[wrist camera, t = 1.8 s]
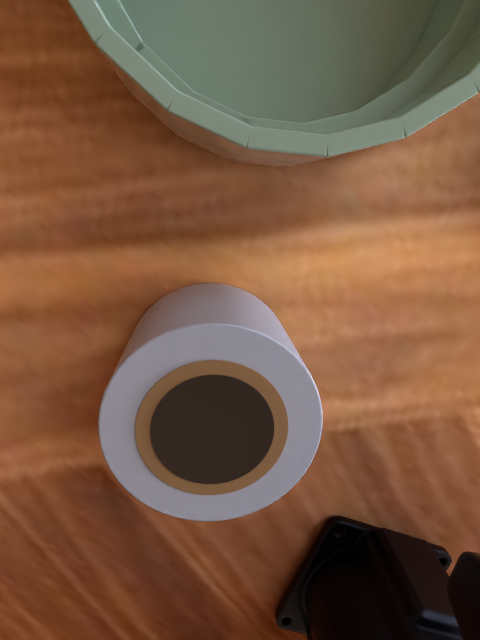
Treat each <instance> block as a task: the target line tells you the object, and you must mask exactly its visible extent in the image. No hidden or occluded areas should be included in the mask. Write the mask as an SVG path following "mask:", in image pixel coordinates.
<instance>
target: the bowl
mask: <svg viewBox="0 0 480 640" xmlns="http://www.w3.org/2000/svg"><path fill="white" fill-rule="evenodd" d="M67 1H68V2H69V4H70V6H71V7H72V9H73V11H74V12H75V14H76V16H77V17H78V19H79V20H80V22H81V24H82V25H83V27H84V29H85V30H86V32H87V34H88V35H89V37H90V38H91V40H92V42H93V43H94V44H95V46H96V47H97V48H98V50H99V51H100V53H101V54H102V55H103V57H104V58H105V59H106V61H107V62H108V63H109V65H110V66H111V67H112V69H113V70H114V71H115V73H116V74H117V75H118V77H119V78H120V79H121V81H122V82H123V84H124V85H125V86H126V88H127V89H128V90H129V92H130V93H131V94H132V95H133V96H134V97H135V98H137V99H138V100H139V101H140V102H141V103H142V104H143V105H144V106H145V107H146V108H147V109H149V110H150V111H151V112H152V113H153V114H154V115H155V116H156V117H157V118H158V119H159V120H161V121H162V122H163V123H164V124H165V125H166V126H167V127H168V128H169V129H170V130H171V131H173V132H174V133H175V134H176V135H178V136H179V137H181V138H183V139H185V140H187V141H189V142H191V143H194V144H196V145H198V146H200V147H202V148H204V149H207V150H209V151H211V152H213V153H215V154H217V155H220V156H222V157H224V158H226V159H228V160H230V161H232V160H233V161H234V162H242V163H252V164H261V165H271V166H281V167H290V166H291V167H293V166H297V165H301V164H305V163H310V162H314V161H318V160H322V159H326V158H331V157H335V156H339V155H343V154H347V153H351V152H355V151H359V150H363V149H366V148H370V147H374V146H378V145H382V144H386V143H390V142H394V141H398V140H401V139H403V138H406V137H408V136H410V135H412V134H413V133H415V132H416V131H418V130H420V129H421V128H423V127H425V126H426V125H428V124H429V123H431V122H433V121H434V120H436V119H438V118H439V117H441V116H442V115H444V114H446V113H447V112H449V111H451V110H452V109H454V108H456V107H457V106H459V105H460V104H462V103H464V102H465V101H467V100H469V99H470V98H472V97H473V96H475V95H476V94H477V93H478V92H480V0H67Z"/></svg>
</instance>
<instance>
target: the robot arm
mask: <svg viewBox="0 0 480 640" xmlns="http://www.w3.org/2000/svg"><path fill="white" fill-rule="evenodd" d="M337 527H340V528H339V529H335V528H337ZM451 562H452V558H451V556H450V555H449V553H448V552H447V550H446V549H445V548H443V547H441V546H438V545H434V544H431V543H428V542H426V541H425V540H421V539H418V538H415V537H412V536H408V535H405V534H402V533H399V532H395V531H392V530H389V529H385V528H379V527H375V526H372V525H369V524H366V523H362V522H359V521H356V520H352V519H349V518H346V517H343V516H333V517H331V518H329V519H328V521H327V522H326V524H325V525H324V527H323V529H322V531H321V532H320V534H319V536H318V538H317V539H316V541H315V543H314V545H313V546H312V548H311V550H310V552H309V553H308V555H307V557H306V559H305V560H304V562H303V564H302V566H301V567H300V569H299V571H298V573H297V574H296V576H295V578H294V580H293V581H292V583H291V585H290V587H289V589H288V590H287V592H286V594H285V596H284V597H283V599H282V601H281V603H280V604H279V606H278V608H277V610H276V612H275V617H276V622H277V625H278V626H279V627H280V628H282V629H286V630H290V631H295V632H299V633H303V634H306V635H307V639H308V640H480V553H475V552H463V553H462V554H461V555H460V556H459V558H458V560H457V563H456V565H455V567H454V569H453V571H452V573H451V575H450V577H449V575H448V574H447V572H446V570H447V569H448V567H449V566H450V564H451Z"/></svg>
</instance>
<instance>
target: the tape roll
mask: <svg viewBox="0 0 480 640" xmlns="http://www.w3.org/2000/svg"><path fill="white" fill-rule="evenodd" d="M321 431H322V406H321V399H320V396H319V393H318V389H317V386H316V384H315V382H314V380H313V378H312V376H311V374H310V372H309V371H308V369H307V367H306V366H305V364H304V362H303V360H302V359H301V357H300V355H299V354H298V352H297V350H296V349H295V347H294V345H293V343H292V342H291V340H290V338H289V337H288V335H287V333H286V332H285V330H284V328H283V327H282V325H281V323H280V322H279V320H278V319H277V317H276V315H275V314H274V313H273V312H272V311H271V309H270V308H269V307H268V306H267V305H266V304H265V303H263V302H262V301H261V300H260V299H258V298H257V297H255V296H254V295H252V294H251V293H249V292H247V291H244V290H242V289H240V288H237V287H234V286H230V285H225V284H218V283H202V284H194V285H189V286H186V287H183V288H180V289H177V290H175V291H173V292H171V293H169V294H167V295H165V296H164V297H162V298H161V299H159V300H158V301H157V302H155V303H154V304H153V305H152V306H151V307H150V308H149V309H148V310H147V311H146V312H145V314H144V315H143V316H142V318H141V319H140V321H139V322H138V324H137V326H136V328H135V330H134V332H133V334H132V336H131V338H130V340H129V342H128V344H127V346H126V348H125V350H124V352H123V354H122V356H121V358H120V360H119V362H118V364H117V367H116V369H115V371H114V373H113V375H112V377H111V379H110V381H109V383H108V385H107V387H106V390H105V392H104V394H103V398H102V401H101V405H100V410H99V417H98V434H99V439H100V445H101V449H102V452H103V455H104V458H105V460H106V462H107V464H108V466H109V468H110V470H111V472H112V473H113V474H114V476H115V477H116V479H117V480H118V482H119V483H120V484H121V485H122V486H123V487H124V488H125V489H126V490H127V491H128V492H129V493H130V494H131V495H133V496H134V497H135V498H136V499H137V500H139V501H140V502H142V503H144V504H145V505H147V506H148V507H150V508H152V509H155V510H157V511H159V512H161V513H164V514H167V515H170V516H172V517H177V518H181V519H186V520H194V521H220V520H228V519H233V518H238V517H242V516H245V515H248V514H251V513H253V512H256V511H258V510H260V509H262V508H264V507H266V506H268V505H270V504H271V503H273V502H275V501H276V500H278V499H279V498H280V497H282V496H283V495H284V494H286V493H287V492H288V491H289V490H290V489H291V488H292V487H293V486H294V485H295V484H296V483H297V482H298V481H299V480H300V478H301V477H302V476H303V475H304V474H305V472H306V470H307V469H308V467H309V466H310V464H311V462H312V460H313V458H314V456H315V454H316V451H317V448H318V445H319V441H320V438H321Z"/></svg>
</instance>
